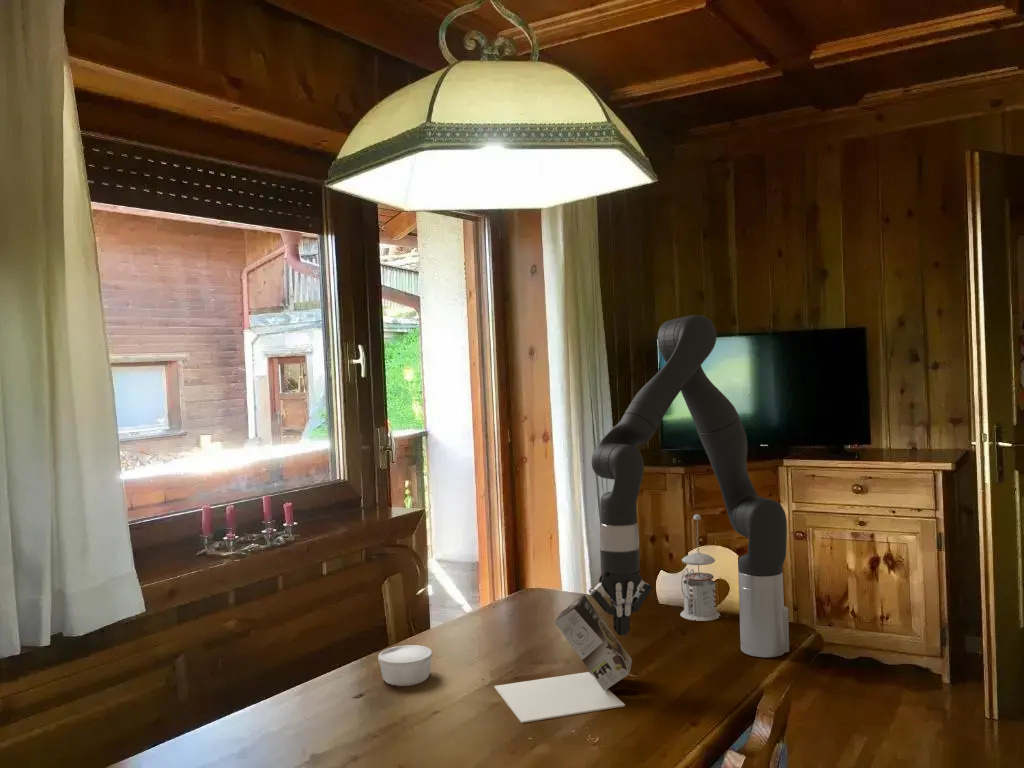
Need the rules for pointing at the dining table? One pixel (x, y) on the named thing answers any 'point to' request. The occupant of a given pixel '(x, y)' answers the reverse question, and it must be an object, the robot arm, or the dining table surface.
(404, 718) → the dining table surface
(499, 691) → the mat
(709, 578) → the french press
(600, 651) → the coffee box
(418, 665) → the ramekin
